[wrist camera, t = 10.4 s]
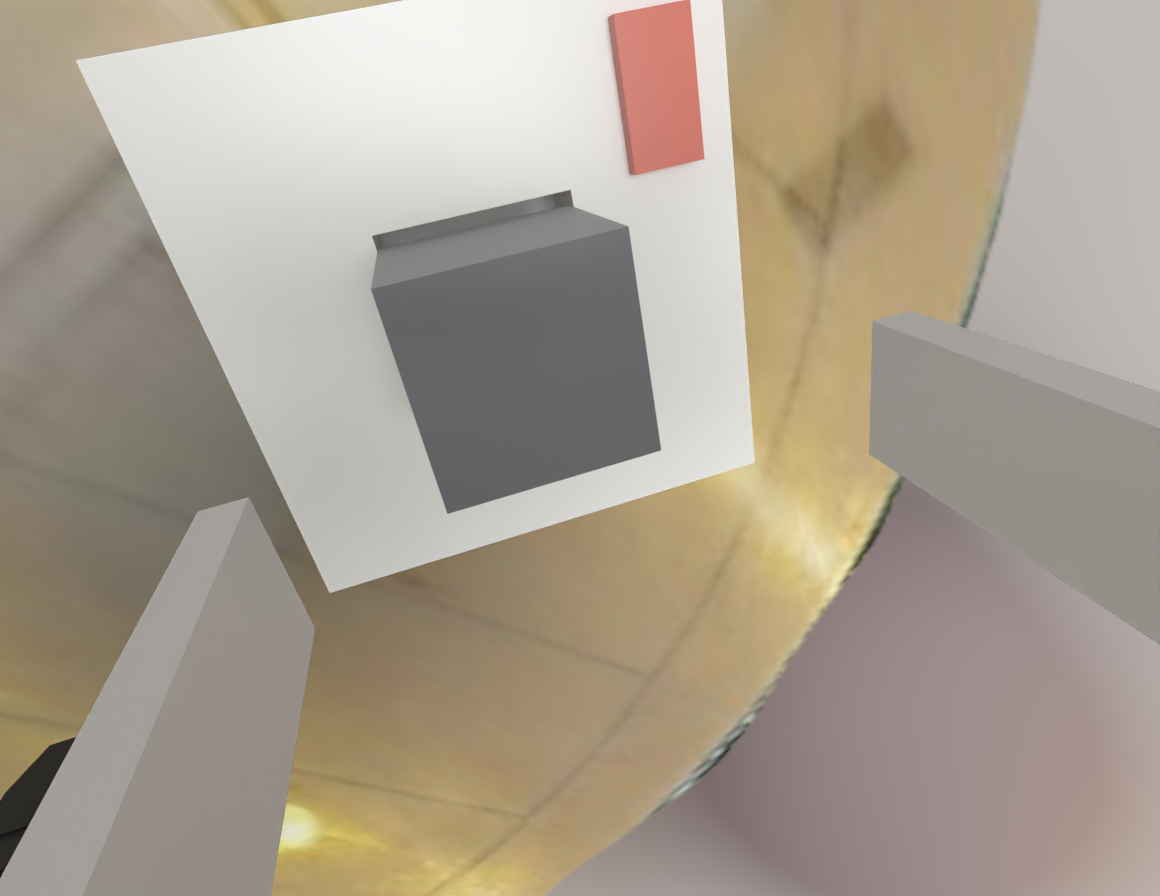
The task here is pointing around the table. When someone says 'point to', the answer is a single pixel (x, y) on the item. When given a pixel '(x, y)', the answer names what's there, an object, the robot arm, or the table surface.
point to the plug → (520, 351)
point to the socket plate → (436, 230)
